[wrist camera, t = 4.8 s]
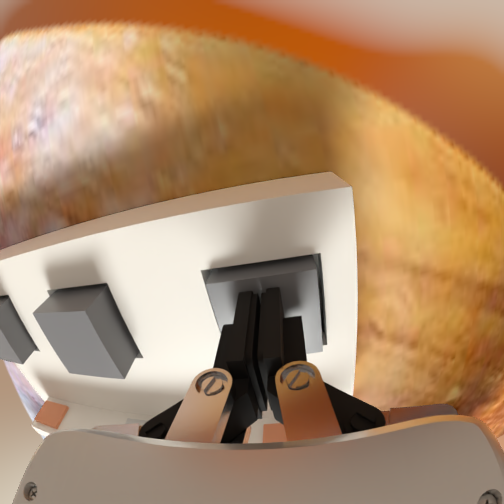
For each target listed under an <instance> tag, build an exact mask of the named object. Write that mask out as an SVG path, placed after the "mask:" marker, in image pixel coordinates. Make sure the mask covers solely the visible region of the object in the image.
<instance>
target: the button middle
mask: <svg viewBox="0 0 504 504" xmlns="http://www.w3.org/2000/svg"><path fill="white" fill-rule="evenodd" d="M33 315H34V317H35V319H36V321H37V322H38V324H39V326H40V328H41V329H42V331H43V333H44V335H45V336H46V338H47V340H48V341H49V343H50V345H51V346H52V348H53V349H54V351H55V352H56V354H57V356H58V357H59V359H60V360H61V362H62V363H63V365H64V366H65V367H66V369H67V370H68V372H69V373H72V374H79V375H87V376H95V377H104V378H114V379H125V378H126V376H127V374H128V372H129V370H130V368H131V366H132V364H133V362H134V360H135V358H136V356H137V354H138V352H139V351H140V350H139V349H138V347H137V345H136V343H135V341H134V339H133V337H132V335H131V333H130V331H129V329H128V327H127V325H126V323H125V321H124V319H123V317H122V315H121V313H120V311H119V309H118V306H117V304H116V302H115V300H114V298H113V295H112V293H111V291H110V288H109V286H108V284H107V283H101V284H93V285H86V286H78V287H70V288H61V289H57V290H56V291H55V292H54V293H53V294H52V295H51V296H49V297H48V298H47V299H46V300H45V301H44V302H43V303H42V304H41V305H40V306H39V307H38V308H37V309H36V310H35V311H34V312H33Z"/></svg>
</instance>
